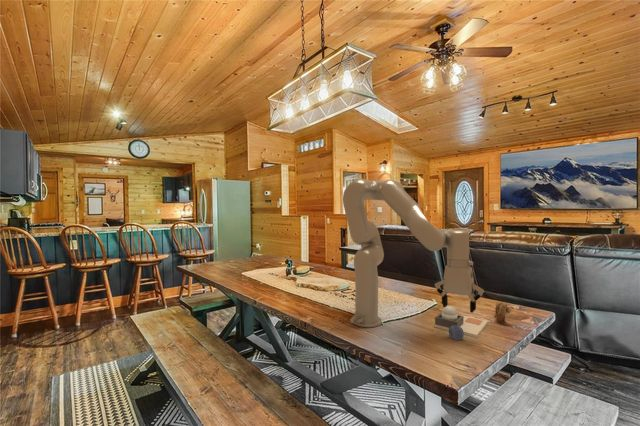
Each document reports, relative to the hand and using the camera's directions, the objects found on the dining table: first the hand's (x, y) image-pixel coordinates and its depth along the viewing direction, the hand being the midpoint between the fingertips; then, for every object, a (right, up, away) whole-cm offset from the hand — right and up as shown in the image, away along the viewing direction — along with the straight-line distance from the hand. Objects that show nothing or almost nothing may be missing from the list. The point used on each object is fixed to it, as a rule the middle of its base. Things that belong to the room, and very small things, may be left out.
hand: (458, 308), depth 121 cm
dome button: (+1, -9, +12) cm, 14 cm away
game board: (+7, -10, +13) cm, 18 cm away
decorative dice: (-1, -11, +1) cm, 11 cm away
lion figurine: (+26, -10, +18) cm, 34 cm away
